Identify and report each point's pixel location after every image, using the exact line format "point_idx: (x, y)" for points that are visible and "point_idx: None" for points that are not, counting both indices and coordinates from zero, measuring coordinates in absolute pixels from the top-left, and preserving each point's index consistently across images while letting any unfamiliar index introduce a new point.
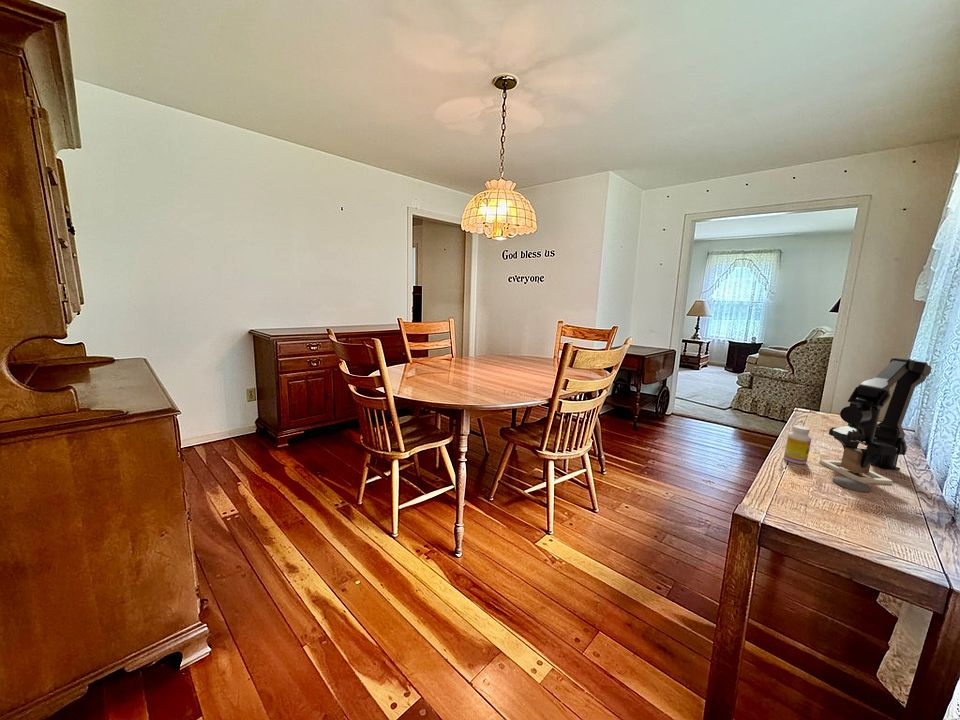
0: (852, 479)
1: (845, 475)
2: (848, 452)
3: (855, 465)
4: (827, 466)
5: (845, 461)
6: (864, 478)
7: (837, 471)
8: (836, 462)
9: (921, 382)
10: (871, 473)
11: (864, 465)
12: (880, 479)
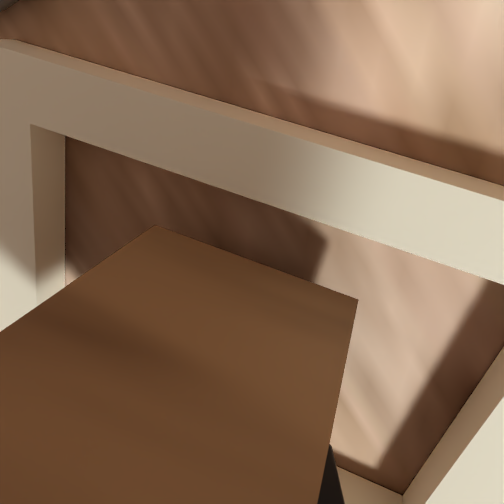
0: None
1: (175, 90)
2: None
3: (84, 278)
4: (491, 185)
5: (264, 339)
6: (1, 149)
7: (301, 129)
8: (483, 416)
9: None
10: None
11: None
12: (12, 310)
